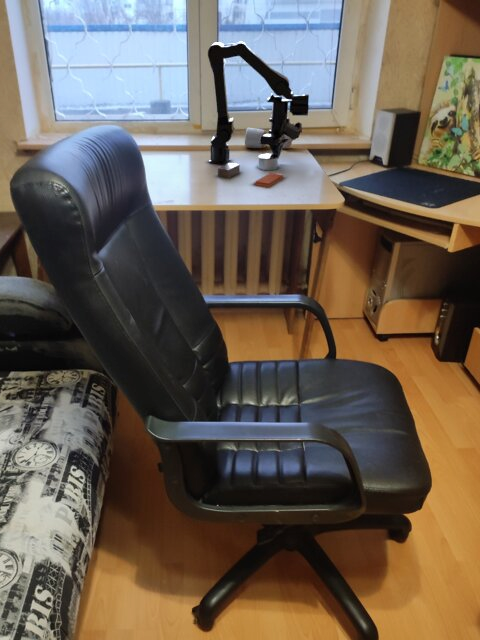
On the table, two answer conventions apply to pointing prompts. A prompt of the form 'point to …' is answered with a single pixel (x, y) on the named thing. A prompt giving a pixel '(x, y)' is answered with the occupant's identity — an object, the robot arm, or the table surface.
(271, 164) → the silver pot
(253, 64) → the robot arm
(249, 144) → the ceramic mug
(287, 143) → the frog figurine
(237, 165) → the walnut block
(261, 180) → the terracotta tray
